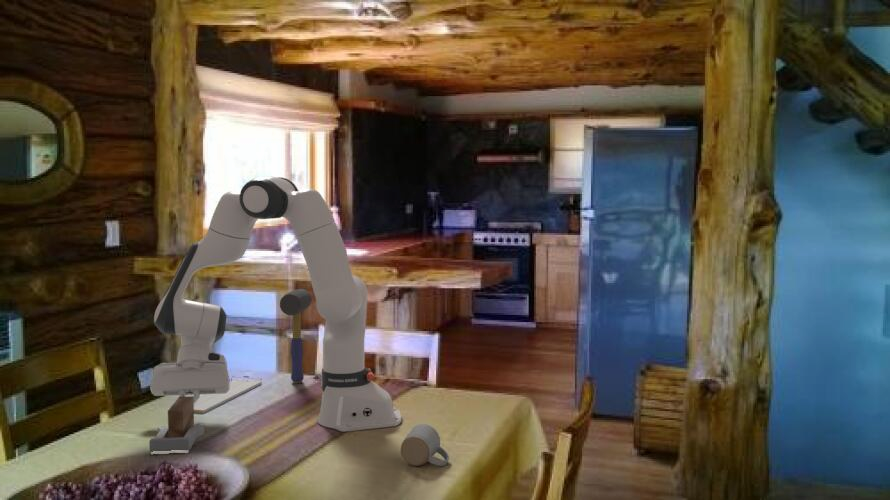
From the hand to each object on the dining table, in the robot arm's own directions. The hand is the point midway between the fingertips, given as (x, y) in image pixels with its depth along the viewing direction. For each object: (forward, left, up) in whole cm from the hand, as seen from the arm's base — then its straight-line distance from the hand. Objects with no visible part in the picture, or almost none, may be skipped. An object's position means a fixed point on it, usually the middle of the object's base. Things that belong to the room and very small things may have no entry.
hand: (187, 407), depth 191 cm
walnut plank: (0, +7, -5) cm, 8 cm away
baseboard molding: (-3, -27, -6) cm, 27 cm away
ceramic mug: (-60, +33, -5) cm, 68 cm away
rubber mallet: (-26, -39, -5) cm, 47 cm away
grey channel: (0, +15, -5) cm, 16 cm away
